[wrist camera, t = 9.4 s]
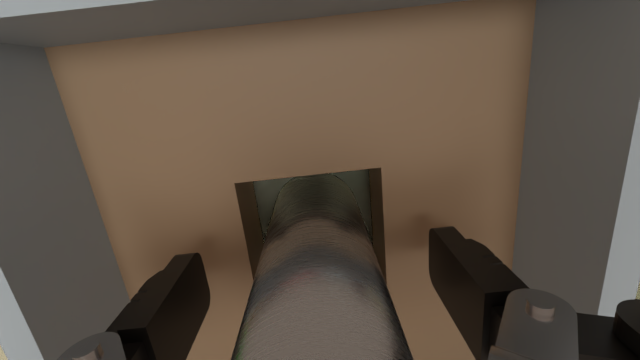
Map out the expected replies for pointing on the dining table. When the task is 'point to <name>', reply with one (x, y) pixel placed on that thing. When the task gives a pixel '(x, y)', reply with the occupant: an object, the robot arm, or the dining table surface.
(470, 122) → the bore box
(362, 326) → the peg
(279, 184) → the dining table surface
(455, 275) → the robot arm
